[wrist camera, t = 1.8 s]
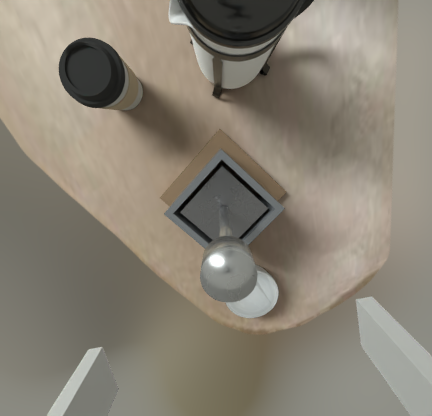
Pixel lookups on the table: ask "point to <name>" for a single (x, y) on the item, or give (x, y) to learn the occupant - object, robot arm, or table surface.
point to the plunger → (225, 235)
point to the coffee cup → (98, 76)
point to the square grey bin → (205, 168)
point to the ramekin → (257, 297)
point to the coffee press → (234, 35)
